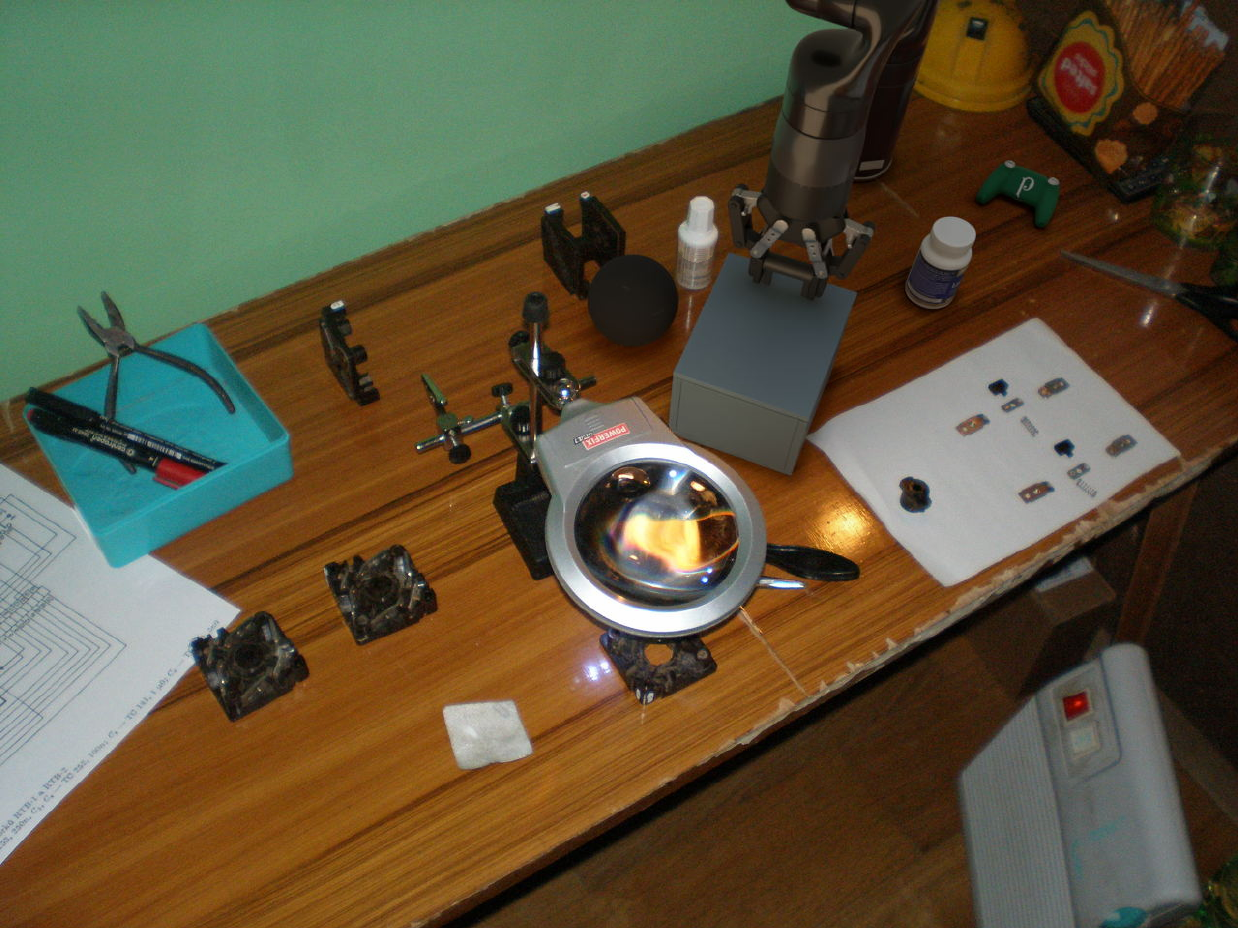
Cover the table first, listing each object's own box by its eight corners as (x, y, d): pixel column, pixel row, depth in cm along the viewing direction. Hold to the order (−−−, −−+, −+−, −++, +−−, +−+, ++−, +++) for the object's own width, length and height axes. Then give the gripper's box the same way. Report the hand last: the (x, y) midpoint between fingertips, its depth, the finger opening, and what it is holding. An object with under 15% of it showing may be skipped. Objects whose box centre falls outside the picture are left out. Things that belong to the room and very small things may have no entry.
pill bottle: (952, 314, 114) (980, 254, 105) (902, 306, 114) (926, 245, 106) (953, 278, 117) (981, 216, 108) (905, 270, 117) (928, 208, 109)
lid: (728, 256, 102) (731, 224, 98) (856, 297, 100) (866, 265, 95) (673, 376, 96) (674, 347, 92) (808, 422, 93) (816, 395, 89)
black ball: (662, 374, 109) (667, 315, 100) (576, 352, 110) (574, 292, 102) (685, 308, 114) (692, 246, 105) (603, 288, 115) (603, 226, 107)
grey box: (714, 333, 112) (723, 273, 103) (831, 371, 109) (850, 313, 101) (667, 432, 105) (673, 377, 96) (791, 476, 102) (807, 423, 93)
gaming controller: (1043, 231, 123) (1068, 186, 122) (1044, 228, 120) (1070, 181, 118) (974, 203, 126) (998, 158, 124) (973, 199, 122) (997, 153, 121)
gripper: (907, 148, 84) (864, 281, 99) (750, 104, 87) (730, 239, 102) (885, 207, 81) (843, 335, 96) (721, 158, 84) (705, 290, 98)
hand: (785, 285), depth 99 cm, fingers closed on lid, 5 cm apart
